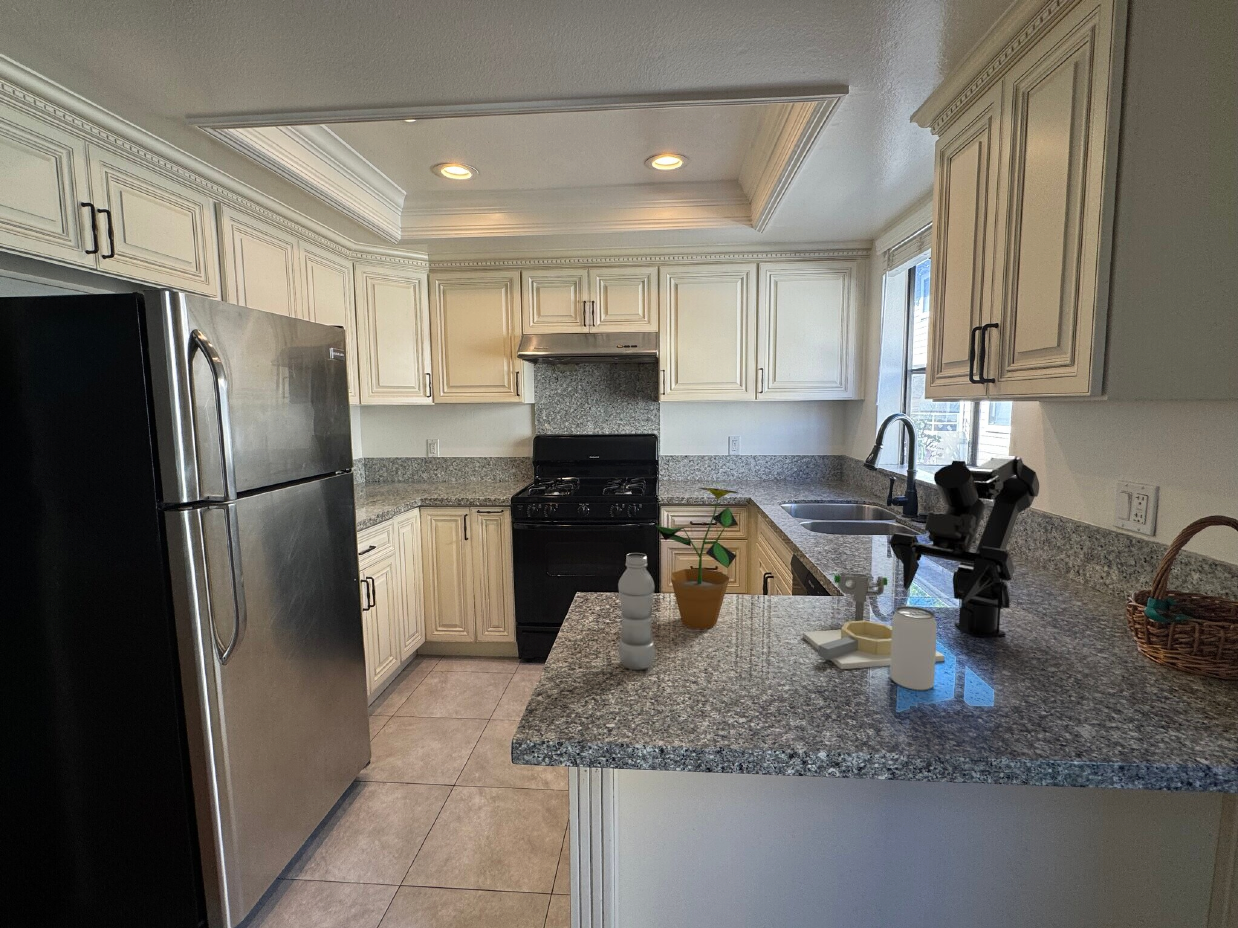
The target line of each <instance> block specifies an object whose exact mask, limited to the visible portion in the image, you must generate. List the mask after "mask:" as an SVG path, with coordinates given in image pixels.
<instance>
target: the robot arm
mask: <svg viewBox="0 0 1238 928" xmlns="http://www.w3.org/2000/svg"><path fill="white" fill-rule="evenodd" d="M967 466H968V465H967V463H966V461H965V460H952V462H951V464H948V465H945V466H942V467H941V468H940V469H938V470H937V471H936V472H935V473H934V476H933V480H934V483H935V485H936V488H937V491H938V493H939V496H940V498H941V499H940V500H941V501H942V503H943V504H944V505H946V509H945V511H944V513H939V512H938V513H936V512H928V513H927V517H926V522H925V526H924V531H925V532H928V533H929V535H928V540H929V541H930V542H933V543H932V544H926V543H921V542H919V540H918V537H917V535H915V534H910V533H902V532H895V533H893V534H891V537H890V538H889V541H888V544H889V545H890V548H891V550H892V552H893V554H894V557H895V558H896V559H898V560H899V561H900V562H901V563H902V566H903V569H902V571H903V574H902V575H903V587H904V589H905V590H907V591H908V590H909V589H910V587H911V585H912V583H913V581H914V578H915V576H916V574H917V571H918V569H919V567H920V564H919V561H920V560H921V558H922V556H927V557H933V558H938V559H942V560H943V559H944V560H947V561H952V562H959V565H958V566H957V569H955V571H954V572H953V576H952V589H953V599H955V600H961V606H960V607H959V614H958V615H959V617H958V622H954V626H955V627H957V628H959V629H960V630H962V631H965V632H967V633H968V634H969V635H972V636H974V637H976V638H987V637H1002V636H1006V634H1007V632H1005V631H1003V630H1001V629H1000V627H1001V625H1000V624H1001V610H1003V609H1010V606H1011V592H1010V589H1009V585H1008V583H1007V581H1008V582H1009V581H1011V580H1012V578H1013V575H1014V573H1015V567H1014V563H1013V559H1012V556H1011V553H1010V552H1009V550H1007V547H1008V543H1009V541H1010V538H1011V535H1012V533H1013V531H1014V528H1015V524H1016V521H1017V519H1018V515H1019V514H1020V513H1021V512H1023V511H1025V510H1026V509H1029V508H1030V507H1031V506H1032V504H1033V502H1034V500H1035V497H1038V495H1039V493H1040V481H1039V478H1038V475H1037V472H1036V471H1035V470H1033V469H1032V468H1031V467H1028V466H1027V465H1026V464H1025V463H1024V461H1023V459H1022V458H1021V457H1018V456H1017V455H1016V456H1014V455H1013V456H1012V455H1011V456H1010V455H995V456H992V457H991V458H990V459H989V460H988V461H986V462H984V463H983V464H980V465H979V466H977V467H973V466H972V467H970V466H968V467H967ZM982 500H986V501H987V500H988V501H993V506H992V508H991V510H990V513H989V516H988V518H987V520H986V523H985V526H984V528H983V532H982V534H981V535H980V539H979V542H978V545H977V547H976V550H975V552H971V549H972V546H973V544H976V542H977V540H978V539H977V536H976V535H977V533H978V530H979V527H980V524H981V521H982V520H984V517H985V515H984V513H985V509H986V505H985V504H984V501H982Z"/></svg>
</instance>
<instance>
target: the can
mask: <svg viewBox="0 0 1238 928" xmlns="http://www.w3.org/2000/svg"><path fill="white" fill-rule="evenodd" d="M891 626H892V638H891V663H890V665H889V668H890V669H889V677H890V679H891V680H892V681H893V682H894V683H895V684H896V685H898V686H900V687H902V688H904V689H908V690H912V691H920V692H923V691H928V690H930V689H932V688H933V687H934V684H935V675H936V673H935V672H936V662H935V657H936V651H937V635H938V632H937V630H938V629H937V628H938V625H937V622H936V620H935V613H934V612H933V611H931V610H930V609H927V608H923V607H920V606H919V607H918V606H914V605H913V606H912V605H901V606H897V607H896V608H895V613H894V614H893V616H892V622H891Z"/></svg>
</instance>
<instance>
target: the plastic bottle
mask: <svg viewBox="0 0 1238 928" xmlns="http://www.w3.org/2000/svg"><path fill="white" fill-rule="evenodd" d="M625 560H626V561H625V567H626V569H625V571H624V572H623V574H622V575H621V577H620V578H619V580H618V583H617V586H618V587H617V588H618V594H619V601H620V610H621V627H620V628H621V629H620V630H621V631H620V639H619V642H618V643H619V645H618V658H619V661H620V663H621V664H622V666H623V667H624V668H627V669H629V670H633V671H640V670H641V671H644V670H646V669H648V668H650V667H651V666H652V664H654V661H655V656H656V648H655V641H654V639H653V636H654V635H653V626H652V625H653V624H652V621H653V620H652V619H653V616H652V615H653V603H654V595H655V586H656V585H655V582H654V579H653V577H652V576H651V574H650V572H649V571H648V570H647V567H648V557H647V554H645V553H642V552H641V553H640V552H630V553H628V554H626V559H625Z"/></svg>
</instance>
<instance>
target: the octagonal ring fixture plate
mask: <svg viewBox="0 0 1238 928" xmlns="http://www.w3.org/2000/svg"><path fill="white" fill-rule="evenodd" d="M802 638H804V639H805V640H806V641H807V642H808V643H809V644H811V646H813V647H814V648H815V649H816V650H817V651H818V657H820V658H823V659H824V660H826V661H831V662H832V663H833V664H834V665H835V666H837V667H838V668H839V669H840V670H849V669H860V668H861V669H862V668H872V667H886V666H887V667H888V666H890V663H891V638H892V625H888V624H884V623H880V622H875V621H870V620H864V619H863V621H856V620H854V621H853V620H852V621H851V620H850V621H845V623H844V624H843V625H842V626H841V629H830V630H828V629H827V630H818V631H817V630H814V631H803V632H802ZM937 662H945V655H944V654H943V653H941V652H939V651H938V650H936V657H935V663H937Z"/></svg>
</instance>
